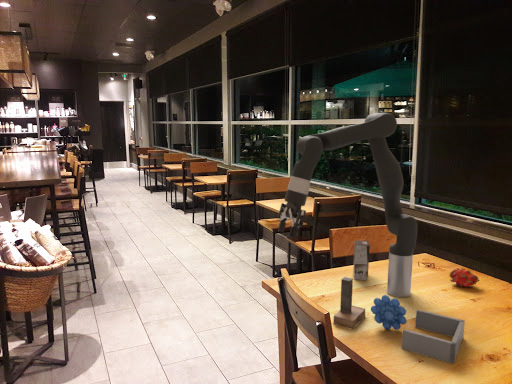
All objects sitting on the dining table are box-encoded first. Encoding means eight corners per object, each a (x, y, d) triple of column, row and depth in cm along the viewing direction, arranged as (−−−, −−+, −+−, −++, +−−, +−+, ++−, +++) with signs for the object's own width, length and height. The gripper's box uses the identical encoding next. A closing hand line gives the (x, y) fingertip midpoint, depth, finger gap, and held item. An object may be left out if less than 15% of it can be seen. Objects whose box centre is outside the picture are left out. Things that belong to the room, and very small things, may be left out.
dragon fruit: (445, 286, 181) (475, 294, 177) (449, 281, 174) (480, 289, 170) (448, 268, 184) (478, 275, 180) (452, 262, 177) (483, 270, 173)
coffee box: (368, 280, 183) (370, 245, 181) (353, 279, 185) (355, 244, 182) (367, 273, 192) (368, 240, 190) (353, 272, 193) (354, 239, 191)
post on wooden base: (346, 311, 151) (348, 273, 149) (364, 316, 148) (366, 277, 145) (333, 324, 142) (334, 282, 139) (352, 329, 138) (354, 287, 136)
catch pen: (416, 325, 141) (417, 309, 140) (463, 337, 132) (464, 320, 132) (401, 348, 126) (402, 330, 125) (453, 364, 117) (455, 344, 117)
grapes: (369, 332, 135) (371, 298, 134) (369, 323, 142) (371, 290, 140) (406, 337, 132) (409, 302, 130) (405, 328, 139) (407, 294, 137)
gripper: (317, 196, 141) (304, 241, 141) (296, 190, 154) (285, 231, 154) (299, 191, 137) (286, 237, 138) (279, 186, 150) (268, 228, 151)
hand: (286, 234), depth 146 cm, fingers open, 8 cm apart
